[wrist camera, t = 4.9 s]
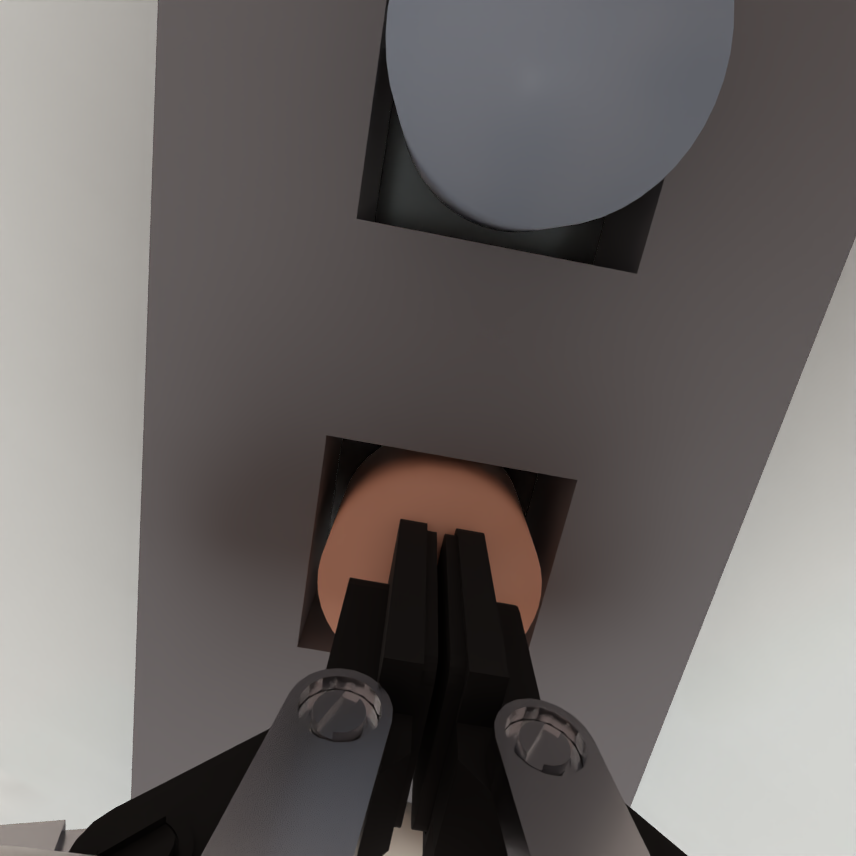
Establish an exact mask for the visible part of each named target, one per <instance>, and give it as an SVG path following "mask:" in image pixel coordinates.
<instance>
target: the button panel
mask: <svg viewBox="0 0 856 856" xmlns="http://www.w3.org/2000/svg"><path fill="white" fill-rule="evenodd" d="M388 4H389V0H158V18H157V47H156V77H155V106H154V136H153V166H152V195H151V225H150V254H149V284H148V314H147V343H146V373H145V402H144V432H143V462H142V491H141V521H140V550H139V580H138V610H137V639H136V669H135V698H134V728H133V758H132V787H131V799H133V798H135V797H137V796H139V795H141V794H143V793H145V792H147V791H149V790H151V789H153V788H155V787H157V786H159V785H161V784H163V783H164V782H166V781H168V780H170V779H172V778H174V777H176V776H178V775H180V774H182V773H184V772H186V771H188V770H190V769H192V768H194V767H196V766H198V765H199V764H201V763H203V762H205V761H207V760H209V759H211V758H213V757H215V756H217V755H219V754H221V753H223V752H225V751H227V750H229V749H231V748H233V747H234V746H236V745H238V744H240V743H242V742H244V741H246V740H248V739H250V738H252V737H254V736H256V735H258V734H260V733H262V732H264V731H266V730H268V729H269V728H270V727H271V726H272V724H273V722H274V720H275V718H276V716H277V715H278V713H279V711H280V709H281V707H282V705H283V703H284V702H285V700H286V698H287V696H288V694H289V692H290V691H291V690H292V689H293V687H294V686H295V685H296V684H297V682H299V681H300V680H302V679H303V678H305V677H306V676H308V675H309V674H311V673H314V672H318V671H321V670H324V669H326V667H327V663H328V659H329V656H330V652H331V648H332V644H333V640H334V636H335V633H334V632H333V631H332V629H331V627H330V625H329V624H328V622H327V620H326V618H325V615H324V613H323V610H322V608H321V604H320V599H319V595H318V583H317V581H318V569H319V564H320V560H321V556H322V553H323V550H324V548H325V545H326V542H327V540H328V534H329V527H330V520H331V513H332V507H333V500H334V493H335V486H336V480H337V473H338V466H339V459H340V453H341V446H342V439H343V438H345V439H350V440H356V441H362V442H367V443H373V444H378V445H384V446H390V447H395V448H401V449H406V450H412V451H418V452H423V453H429V454H434V455H440V456H446V457H451V458H457V459H462V460H468V461H474V462H479V463H485V464H490V465H496V466H502V467H507V468H513V469H518V470H524V471H530V472H535V473H538V474H537V478H536V482H535V486H534V489H533V493H532V497H531V501H530V505H529V508H528V512H527V516H526V523H527V526H528V529H529V532H530V535H531V538H532V541H533V544H534V547H535V550H536V553H537V556H538V560H539V564H540V568H541V577H542V588H541V597H540V602H539V607H538V609H537V612H536V615H535V618H534V620H533V622H532V623H531V625H530V627H529V629H528V631H527V632H526V633H525V636H526V640H527V644H528V648H529V653H530V657H531V661H532V665H533V670H534V674H535V678H536V682H537V687H538V691H539V695H540V699H541V700H543V701H546V702H549V703H551V704H554V705H556V706H559V707H561V708H562V709H564V710H565V711H567V712H569V713H570V714H572V715H573V716H574V717H575V718H577V719H578V720H579V721H580V722H581V723H582V724H583V725H584V726H585V727H586V729H587V730H588V732H589V733H590V735H591V736H592V738H593V739H594V741H595V743H596V745H597V747H598V749H599V751H600V753H601V755H602V757H603V759H604V761H605V763H606V766H607V768H608V770H609V772H610V774H611V776H612V778H613V780H614V782H615V784H616V786H617V788H618V790H619V792H620V794H621V796H622V798H623V800H624V802H625V804H627V805H628V806H629V807H630V806H631V803H632V801H633V798H634V796H635V793H636V791H637V788H638V786H639V783H640V781H641V778H642V776H643V773H644V771H645V768H646V766H647V763H648V760H649V758H650V755H651V753H652V750H653V748H654V745H655V743H656V740H657V738H658V735H659V733H660V730H661V728H662V725H663V723H664V720H665V717H666V715H667V712H668V710H669V707H670V705H671V702H672V700H673V697H674V695H675V692H676V690H677V687H678V685H679V682H680V680H681V677H682V674H683V672H684V669H685V667H686V664H687V662H688V659H689V657H690V654H691V652H692V649H693V647H694V644H695V642H696V639H697V637H698V634H699V631H700V629H701V626H702V624H703V621H704V619H705V616H706V614H707V611H708V609H709V606H710V604H711V601H712V599H713V596H714V594H715V591H716V588H717V586H718V583H719V581H720V578H721V576H722V573H723V571H724V568H725V566H726V563H727V561H728V558H729V556H730V553H731V551H732V548H733V545H734V543H735V540H736V538H737V535H738V533H739V530H740V528H741V525H742V523H743V520H744V518H745V515H746V513H747V510H748V508H749V505H750V502H751V500H752V497H753V495H754V492H755V490H756V487H757V485H758V482H759V480H760V477H761V475H762V472H763V470H764V467H765V465H766V462H767V459H768V457H769V454H770V452H771V449H772V447H773V444H774V442H775V439H776V437H777V434H778V432H779V429H780V427H781V424H782V422H783V419H784V416H785V414H786V411H787V409H788V406H789V404H790V401H791V399H792V396H793V394H794V391H795V389H796V386H797V384H798V381H799V379H800V376H801V373H802V371H803V368H804V366H805V363H806V361H807V358H808V356H809V353H810V351H811V348H812V346H813V343H814V341H815V338H816V336H817V333H818V330H819V328H820V325H821V323H822V320H823V318H824V315H825V313H826V310H827V308H828V305H829V303H830V300H831V298H832V295H833V293H834V290H835V287H836V285H837V282H838V280H839V277H840V275H841V272H842V270H843V267H844V265H845V262H846V260H847V257H848V255H849V252H850V250H851V247H852V244H853V242H854V239H855V237H856V0H734V30H733V37H732V45H731V53H730V57H729V61H728V66H727V70H726V74H725V78H724V81H723V84H722V87H721V89H720V92H719V95H718V98H717V100H716V103H715V105H714V107H713V109H712V111H711V113H710V115H709V118H708V120H707V122H706V124H705V126H704V127H703V129H702V131H701V132H700V134H699V135H698V137H697V138H696V140H695V142H694V143H693V145H692V146H691V148H690V149H689V150H688V151H687V153H686V154H685V155H684V156H683V158H682V159H681V160H680V161H679V163H678V164H677V165H676V166H675V167H674V168H673V169H672V170H671V171H670V172H669V173H668V174H667V175H666V176H665V177H664V178H663V179H662V180H661V181H660V182H659V183H658V184H657V185H655V186H654V187H653V188H652V189H650V190H649V191H648V192H646V193H645V194H644V195H643V196H641V197H640V198H638V199H637V200H635V201H633V202H632V203H630V204H628V205H627V206H625V207H623V208H621V209H619V210H617V211H615V212H613V213H610V214H608V215H606V217H605V221H604V225H603V229H602V232H601V236H600V240H599V244H598V248H597V251H596V255H595V259H594V263H593V265H590V264H584V263H579V262H574V261H569V260H564V259H559V258H554V257H549V256H544V255H539V254H534V253H528V252H523V251H518V250H513V249H508V248H503V247H498V246H493V245H488V244H483V243H477V242H472V241H467V240H462V239H457V238H452V237H447V236H442V235H437V234H432V233H427V232H421V231H416V230H411V229H406V228H401V227H396V226H391V225H386V224H381V223H376V222H375V216H376V209H377V202H378V195H379V189H380V182H381V175H382V168H383V161H384V155H385V148H386V141H387V134H388V128H389V121H390V114H391V107H392V101H393V95H392V91H391V87H390V81H389V75H388V68H387V61H386V24H387V11H388ZM412 783H413V779H412ZM412 783H411V787H410V792H409V796H408V800H407V802H409V803H412Z"/></svg>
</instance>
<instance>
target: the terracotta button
mask: <svg viewBox="0 0 856 856" xmlns="http://www.w3.org/2000/svg"><path fill="white" fill-rule="evenodd" d="M400 519H406V520H411V521H417V522H423V523H427V525H428V526H427V531H433V532H437V565H438V560H439V556H440V551H441V546H442V542H443V538H444V535H445V534H450V535H454V533H455V530H456V528H458V529H464V530H469V531H475V532H481V533H484V535H485V539H486V545H487V551H488V557H489V562H490V568H491V574H492V579H493V585H494V591H495V596H496V602H500V603H506V604H512V605H516V606H518V608H519V611H520V614H521V619H522V623H523V627H524V631H525V633H526V632H527V631H528V629H529V627H530V625H531V623H532V622H533V620H534V618H535V615H536V612H537V609H538V607H539V602H540V597H541V588H542V577H541V568H540V564H539V560H538V556H537V553H536V550H535V547H534V544H533V541H532V538H531V535H530V532H529V529H528V526H527V523H526V520H525V517H524V514H523V511H522V508H521V505H520V502H519V499H518V496H517V493H516V490H515V488H514V485H513V483H512V481H511V479H510V477H509V476H508V474H507V472H506V471H505V470H504V468H503V467H502V466H496V465H490V464H485V463H479V462H474V461H468V460H462V459H457V458H451V457H446V456H440V455H434V454H429V453H423V452H418V451H412V450H406V449H401V448H395V447H390V446H383V447H381V448H379V449H378V450H376V451H375V452H374V453H372V454H371V455H370V456H368V457H367V458H366V459H365V460H364V461H363V462H362V463H361V464H360V466H359V467H358V468H357V470H356V471H355V472H354V474H353V476H352V477H351V479H350V481H349V483H348V485H347V488H346V490H345V493H344V496H343V499H342V501H341V504H340V507H339V509H338V512H337V515H336V518H335V520H334V523H333V526H332V529H331V531H330V534H329V537H328V540H327V542H326V545H325V548H324V550H323V553H322V556H321V560H320V564H319V569H318V581H317V583H318V595H319V599H320V604H321V608H322V610H323V613H324V615H325V618H326V620H327V622H328V624H329V625H330V627H331V629H332V631H333V632H334V633H335V632H336V628H337V624H338V620H339V617H340V613H341V609H342V605H343V601H344V597H345V593H346V589H347V585H348V582H349V578H350V577H351V578H357V579H362V580H368V581H374V582H380V583H386V584H388V580H389V575H390V570H391V565H392V559H393V554H394V549H395V543H396V538H397V533H398V528H399V523H400Z"/></svg>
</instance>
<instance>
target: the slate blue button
mask: <svg viewBox="0 0 856 856" xmlns="http://www.w3.org/2000/svg"><path fill="white" fill-rule="evenodd" d="M733 30H734V0H389V4H388V11H387V24H386V61H387V68H388V75H389V81H390V87H391V91H392V95H393V98H394V102H395V106H396V110H397V113H398V117H399V120H400V124H401V127H402V131H403V134H404V138H405V141H406V145H407V148H408V151H409V153H410V156H411V158H412V161H413V163H414V165H415V167H416V169H417V170H418V172H419V174H420V176H421V178H422V179H423V180H424V182H425V183H426V184H427V186H428V187H429V189H430V190H431V191H432V192H433V193H434V194H435V195H436V196H437V198H438V199H439V200H440V201H441V202H442V203H443V204H445V205H446V206H447V207H448V208H450V209H451V210H452V211H453V212H455V213H456V214H458V215H460V216H461V217H463V218H465V219H466V220H468V221H471V222H473V223H475V224H478V225H480V226H483V227H486V228H490V229H494V230H499V231H507V232H529V231H536V230H542V229H549V228H555V227H562V226H568V225H575V224H581V223H584V222H588V221H591V220H594V219H598V218H601V217H603V216H606V215H608V214H610V213H613V212H615V211H617V210H619V209H621V208H623V207H625V206H627V205H628V204H630V203H632V202H633V201H635V200H637V199H638V198H640V197H641V196H643V195H644V194H645V193H646V192H648V191H649V190H650V189H652V188H653V187H654V186H655V185H657V184H658V183H659V182H660V181H661V180H662V179H663V178H664V177H665V176H666V175H667V174H668V173H669V172H670V171H671V170H672V169H673V168H674V167H675V166H676V165H677V164H678V163H679V161H680V160H681V159H682V158H683V156H684V155H685V154H686V153H687V151H688V150H689V149H690V148H691V146H692V145H693V143H694V142H695V140H696V138H697V137H698V135H699V134H700V132H701V131H702V129H703V127H704V126H705V124H706V122H707V120H708V118H709V115H710V113H711V111H712V109H713V107H714V105H715V103H716V100H717V98H718V95H719V92H720V89H721V87H722V84H723V81H724V78H725V74H726V70H727V66H728V61H729V57H730V53H731V45H732V37H733Z"/></svg>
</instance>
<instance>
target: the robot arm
mask: <svg viewBox="0 0 856 856" xmlns="http://www.w3.org/2000/svg"><path fill="white" fill-rule="evenodd" d="M427 526H428V525H427V523H423V522H417V521H411V520H406V519H400V523H399V528H398V533H397V538H396V543H395V549H394V554H393V559H392V565H391V570H390V575H389V580H388V584H386V583H380V582H374V581H368V580H362V579H357V578H351V577H350V578H349V582H348V585H347V589H346V593H345V597H344V601H343V605H342V609H341V613H340V617H339V620H338V624H337V628H336V632H335V636H334V640H333V644H332V648H331V652H330V656H329V659H328V663H327V667H326V669H324V670H321V671H318V672H314V673H311V674H309V675H308V676H306V677H305V678H303V679H302V680H300V681H299V682H297V684H296V685H295V686H294V687H293V689H292V690H291V691H290V692H289V694H288V696H287V698H286V700H285V702H284V703H283V705H282V707H281V709H280V711H279V713H278V715H277V716H276V718H275V720H274V722H273V724H272V726H271V727H270V728H269V729H268V730H266V731H264V732H262V733H260V734H258V735H256V736H254V737H252V738H250V739H248V740H246V741H244V742H242V743H240V744H238V745H236V746H234V747H233V748H231V749H229V750H227V751H225V752H223V753H221V754H219V755H217V756H215V757H213V758H211V759H209V760H207V761H205V762H203V763H201V764H199V765H198V766H196V767H194V768H192V769H190V770H188V771H186V772H184V773H182V774H180V775H178V776H176V777H174V778H172V779H170V780H168V781H166V782H164V783H163V784H161V785H159V786H157V787H155V788H153V789H151V790H149V791H147V792H145V793H143V794H141V795H139V796H137V797H135V798H133V799H131V800H129V801H128V802H126V803H124V804H122V805H120V806H118V807H116V808H114V809H113V810H111V811H109V812H108V813H106V814H105V815H103V816H102V817H100V818H99V819H97V820H96V821H94V822H93V823H92V824H91V825H90V826H89V827H88V828H87V829H77V830H65V820H57V821H45V822H32V823H19V824H7V825H0V856H383V855H384V854H385V853H386V852H388V851H389V847H390V843H391V838H392V834H393V830H394V827H397V828H401V826H402V822H403V818H404V813H405V809H406V805H407V800H408V796H409V792H410V787H411V783H412V779H413V783H412V807H411V829H412V830H418V831H423V855H422V856H687V855H686V854H685V853H684V852H683V851H681V850H680V849H679V848H678V847H677V846H675V845H674V844H673V843H672V842H671V841H669V840H668V839H667V838H666V837H665V836H663V835H662V834H661V833H660V832H659V831H658V830H656V829H655V828H654V827H653V826H652V825H650V824H649V823H648V822H647V821H646V820H644V819H643V818H642V817H641V816H640V815H638V814H637V813H636V812H635V811H634V810H632V809H631V808H630V807H629V806H628V805H627V804H625V802H624V800H623V798H622V796H621V794H620V792H619V790H618V788H617V786H616V784H615V782H614V780H613V778H612V776H611V774H610V772H609V770H608V768H607V766H606V763H605V761H604V759H603V757H602V755H601V753H600V751H599V749H598V747H597V745H596V743H595V741H594V739H593V738H592V736H591V735H590V733H589V732H588V730H587V729H586V727H585V726H584V725H583V724H582V723H581V722H580V721H579V720H578V719H577V718H575V717H574V716H573V715H572V714H570V713H569V712H567V711H565V710H564V709H562V708H561V707H559V706H556V705H554V704H551V703H549V702H546V701H543V700H541V699H540V695H539V691H538V687H537V682H536V678H535V674H534V670H533V665H532V661H531V657H530V653H529V648H528V644H527V640H526V636H525V631H524V627H523V623H522V619H521V614H520V611H519V608H518V606H516V605H512V604H506V603H500V602H496V596H495V591H494V585H493V579H492V574H491V568H490V562H489V557H488V551H487V545H486V539H485V535H484V533H481V532H475V531H469V530H464V529H458V528H456V530H455V533H454V535H450V534H445V535H444V538H443V542H442V546H441V551H440V556H439V560H438V565H437V532H433V531H427Z"/></svg>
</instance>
